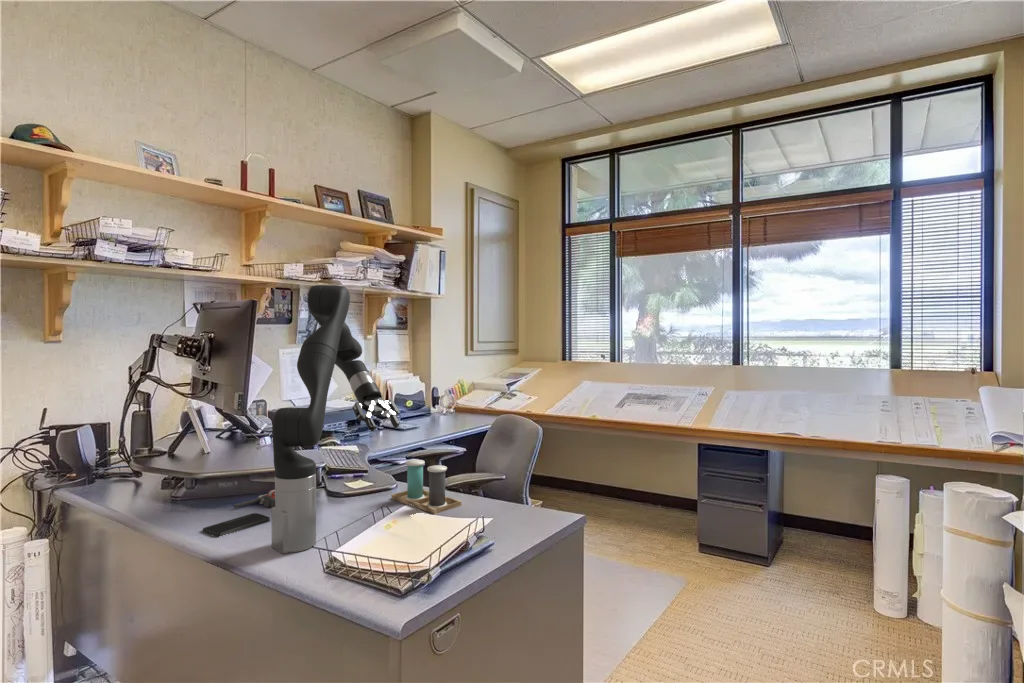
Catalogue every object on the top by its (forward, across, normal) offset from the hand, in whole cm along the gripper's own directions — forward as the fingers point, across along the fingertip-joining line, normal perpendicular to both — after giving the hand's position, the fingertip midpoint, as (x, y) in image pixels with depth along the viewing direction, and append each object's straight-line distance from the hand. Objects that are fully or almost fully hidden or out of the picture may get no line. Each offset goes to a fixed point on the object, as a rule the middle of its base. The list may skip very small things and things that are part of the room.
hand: (385, 428), depth 174 cm
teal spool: (+22, +3, +6) cm, 23 cm away
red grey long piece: (+2, -26, +30) cm, 40 cm away
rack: (+27, +3, +4) cm, 27 cm away
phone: (+10, -41, +22) cm, 48 cm away
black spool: (+29, +3, -1) cm, 29 cm away
